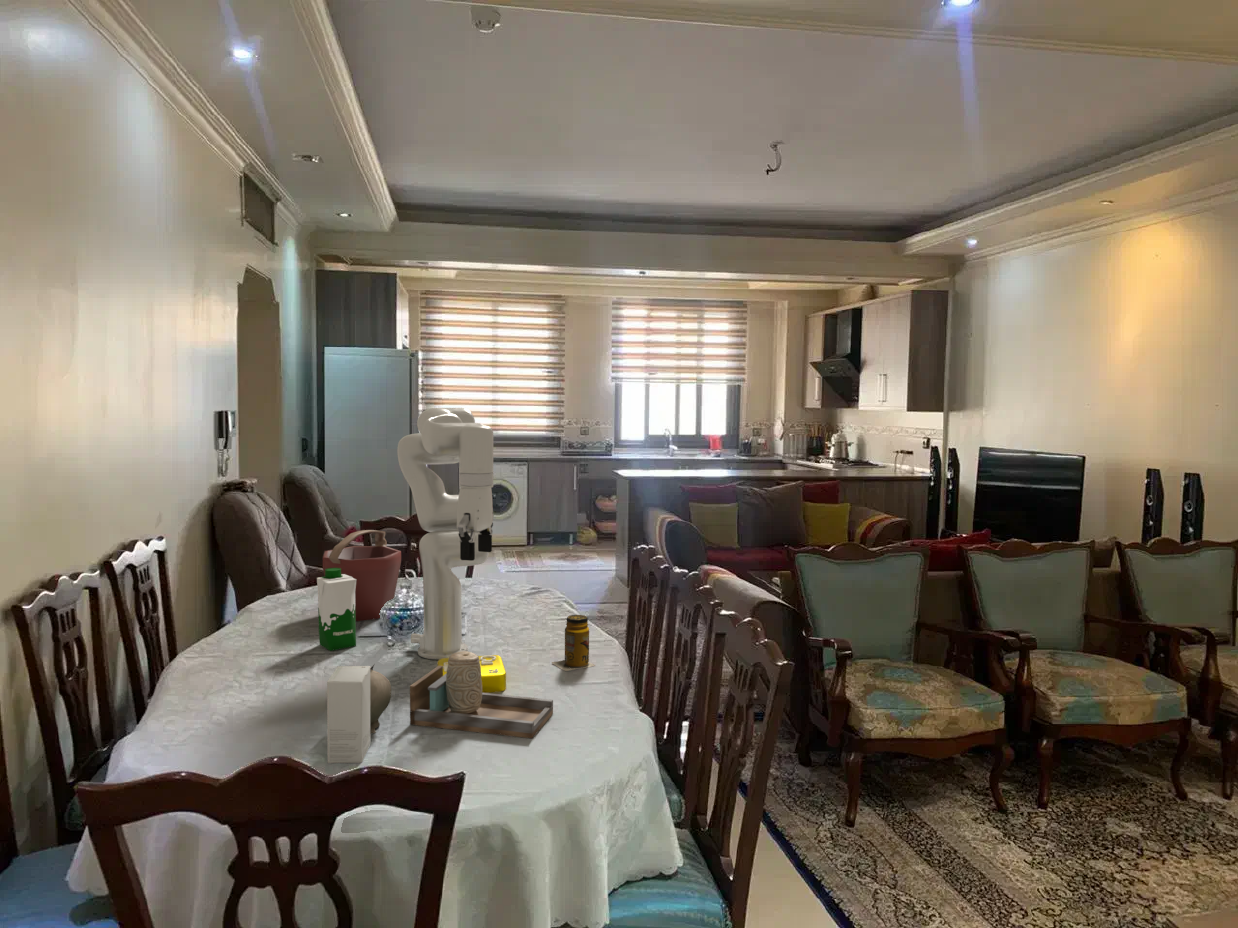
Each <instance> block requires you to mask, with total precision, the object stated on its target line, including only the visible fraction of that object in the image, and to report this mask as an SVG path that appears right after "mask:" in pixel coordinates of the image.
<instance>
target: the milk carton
mask: <svg viewBox="0 0 1238 928" xmlns="http://www.w3.org/2000/svg"><path fill="white" fill-rule="evenodd" d="M316 583H317V584H316V585H317V601H318V602H317V606H318V607H317V608H318V615H317V616H318V638H319V641H318V642H319V646H321V647H323V648H325V649H326V650H328V651H330V652H332V651H333V652H334V651H337V650H343V649H347V648H348V649H349V648H353V647H357V632H356V631H357V627H356V623H357V621H356V615H355V588H356V579H354V578H353V577H351V576H348V575H345V574H341V568H328V569H325V576H321V577H316Z"/></svg>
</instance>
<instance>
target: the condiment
mask: <svg viewBox="0 0 1238 928" xmlns="http://www.w3.org/2000/svg"><path fill="white" fill-rule="evenodd" d="M588 621H589V619H588V616H586V615H583V614H571V615H568V616H567V617H566V624H565V625H566V626H565V628H564V659H562V660H559V661H558V660H557V661H551V664H553V665H554V666H555V667H557V668H559V669H561V670H562V671H564V672H569V671H574V670H575V671H576V670H581V669H585V668H590V667H591V668H592V667H595V666H596V664H594V663H592V662H590V627H589V623H588Z"/></svg>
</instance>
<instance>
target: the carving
mask: <svg viewBox="0 0 1238 928" xmlns="http://www.w3.org/2000/svg"><path fill="white" fill-rule="evenodd" d="M478 656H479V655H477V653H474V652H472V651H461V652H457V653H454V654H452V655H450V657H449V659H448V667H447V674H446V695H447V701H448V702H449V703H448V704H449V708H450V710H451V712H453V713H460V714H467V713H472V712H474V711H476V710H478V708H479V707H480V705H481V701H482V680H481V667H480V659H479V657H478Z"/></svg>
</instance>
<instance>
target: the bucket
mask: <svg viewBox="0 0 1238 928" xmlns="http://www.w3.org/2000/svg"><path fill="white" fill-rule="evenodd" d="M369 533H371V534H372V533H375V537H374V540H375V542H374V543H375V545H373V546H371V545H370V546H369V545H368V546H367V545H365V546H364V545H361V546H360V545H359V546H358V545H355V546H354V545H353V546H349V545H350V544H351V543H352V542H353V541H355V540H356V539H357V538H358V537H360V536H362V535H366V534H369ZM385 537H386V531H382V530H376V529H375V530H374V529H366V530H365V529H362V530H358V531H354V532H351V533H349V534H348V535H346V536H345V537H344V538H343V539H342V540H341V541H340V542H339V543H337V544H336V545H335V546H334V547H333V548H332V549H329V550H324V551H323V555H322V570H323V575H324V576H323V577H325V569H328V568H341V574H345V575H348V576H351V577H353V578H354V579H356V588H355V615H356V622H361V621H370V620H371V621H372V620H378V619H379V618H380V615H379V613H380V610H381V608H382V607H383V606H384V604H385V603H386V602H387V601H389V600H391V599H393V598H394V599H395V595H396V589H397V584H398V579H399V574H400V569H401V563H402V551H401V550H398V549H396V548H392V547H389V546H387V544H388V543H387V540H386V538H385ZM380 619H381V618H380ZM380 619H379V620H380Z"/></svg>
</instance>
